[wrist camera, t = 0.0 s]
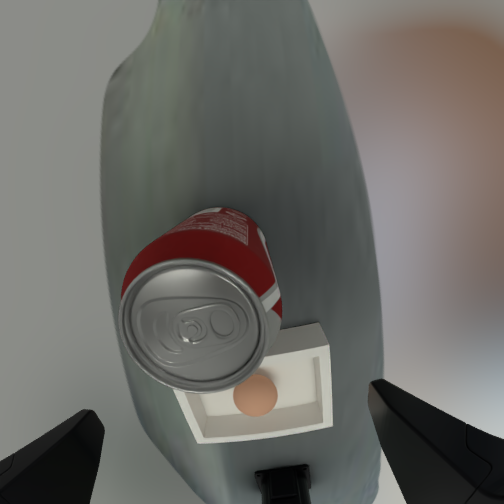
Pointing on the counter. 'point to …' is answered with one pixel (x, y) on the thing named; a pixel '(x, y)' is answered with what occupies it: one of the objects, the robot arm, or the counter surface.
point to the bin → (288, 387)
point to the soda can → (202, 303)
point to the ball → (255, 396)
